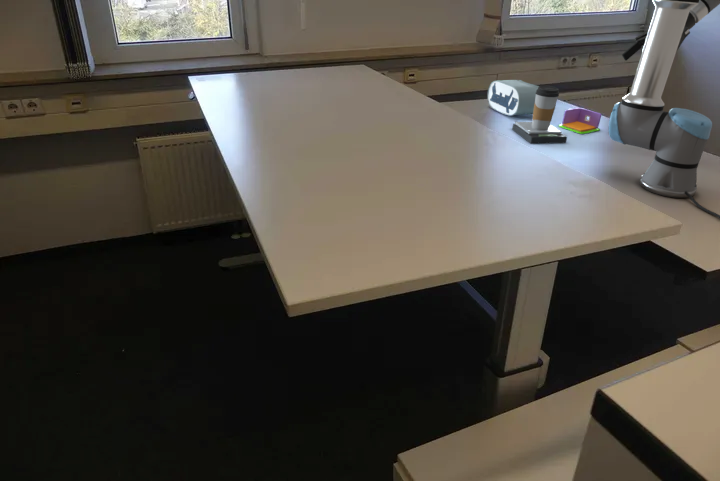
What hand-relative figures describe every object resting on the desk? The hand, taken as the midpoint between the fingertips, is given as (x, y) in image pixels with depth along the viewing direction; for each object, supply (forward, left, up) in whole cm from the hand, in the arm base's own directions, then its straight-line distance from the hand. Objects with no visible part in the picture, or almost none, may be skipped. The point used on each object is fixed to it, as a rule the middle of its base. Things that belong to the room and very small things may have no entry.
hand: (635, 61), depth 185 cm
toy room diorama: (+18, +4, -30) cm, 35 cm away
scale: (+9, +26, -30) cm, 40 cm away
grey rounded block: (+42, +20, -30) cm, 55 cm away
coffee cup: (+9, +26, -27) cm, 38 cm away
